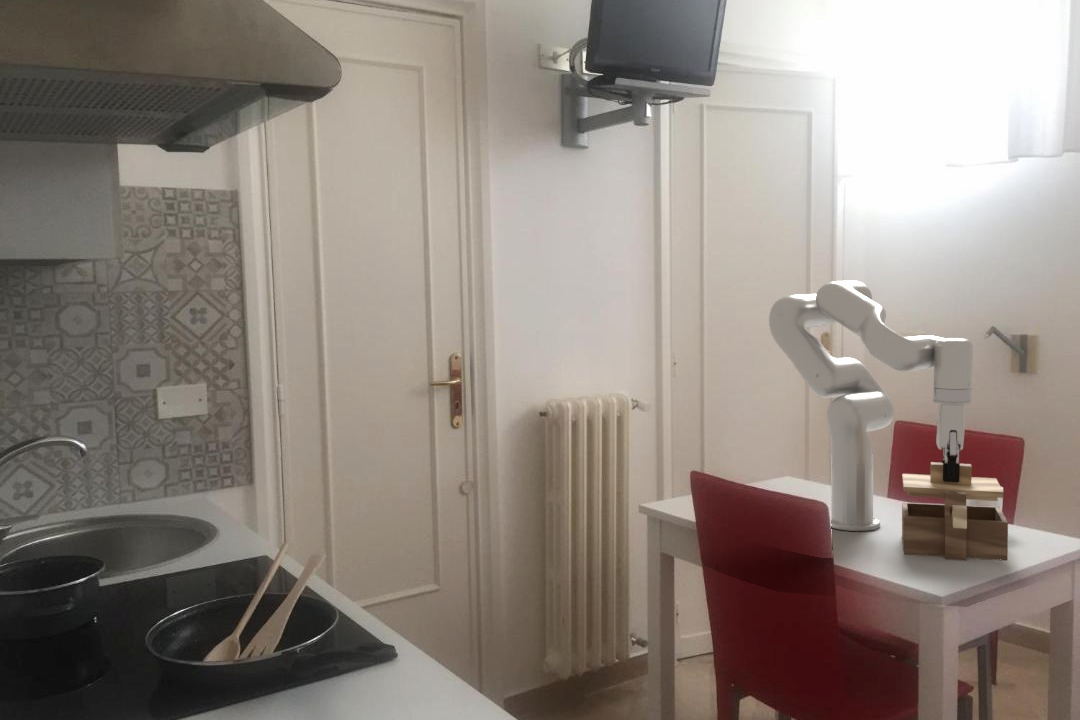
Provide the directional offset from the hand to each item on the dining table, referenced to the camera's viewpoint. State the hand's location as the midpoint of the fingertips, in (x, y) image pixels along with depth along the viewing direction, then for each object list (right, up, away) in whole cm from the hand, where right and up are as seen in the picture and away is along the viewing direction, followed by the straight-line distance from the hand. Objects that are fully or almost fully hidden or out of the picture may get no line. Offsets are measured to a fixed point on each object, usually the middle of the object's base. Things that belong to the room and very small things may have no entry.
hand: (950, 479), depth 201 cm
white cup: (+14, -14, +15) cm, 25 cm away
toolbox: (+1, -15, +1) cm, 15 cm away
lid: (0, -3, 0) cm, 3 cm away
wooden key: (-5, -7, -15) cm, 17 cm away
